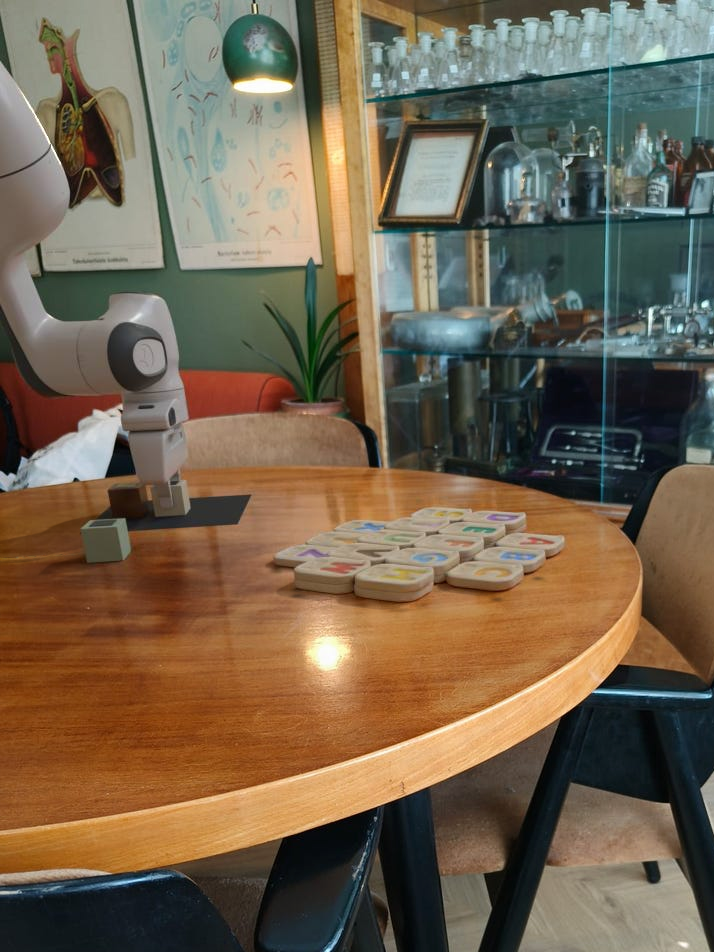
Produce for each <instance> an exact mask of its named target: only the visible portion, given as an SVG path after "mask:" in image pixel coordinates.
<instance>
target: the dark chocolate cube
mask: <svg viewBox="0 0 714 952" xmlns="http://www.w3.org/2000/svg"><path fill="white" fill-rule="evenodd" d="M147 491H148V490H147V485H142V484H141V482H140V481H139V482H123V483H121V482H120V483H114V484H113V485H111V486H110V487H109V488H108V489H107V495H108V501H109V505H110V506H111V511H112V517H113V519H121V518H125V519H128V518H144V517H145V516H146V514H147V513H148V512H149V511H150V508H149V502H148V500H149V497H148V492H147ZM110 506H109V507H110Z"/></svg>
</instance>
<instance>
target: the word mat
mask: <svg viewBox="0 0 714 952" xmlns="http://www.w3.org/2000/svg"><path fill="white" fill-rule="evenodd" d="M252 495H253V494H234V495H219V496H201V497H200V496H199V497H189V501H190V507H191V508H190V510H189V511H188V512H187V514H186V515H177V516H161V517H155V512H154V507H153V501H152V499H148V502H149V508H150V511H149V512H148V513H147V514H146V516H145V517H144V518H128V519H126V525H127V530H128V532H136V531H137V532H139V531H154V530H171V529H186V528H187V529H189V528H201V527H204V528H205V527H217V526H234V525H235V526H236V525H239V522H240V521H241V518H242V516H243V514H244V512H245V510H246V508H247V506H248V503H249V502H250V499H251V498H252ZM104 519H113V517H112V511H111V506H109V507H107V508H106V509H105V510H104V511H103V512H102V513H100V515H99V516H98V517H96V518H95V519H94V520H104ZM79 535H81V532H80V533H79Z"/></svg>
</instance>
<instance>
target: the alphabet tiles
mask: <svg viewBox="0 0 714 952" xmlns="http://www.w3.org/2000/svg"><path fill="white" fill-rule="evenodd" d="M526 530H527V514H526V513H525V512H524V511H521V512H512V511H511V512H510V511H500V510H499V511H497V510H477V511H473V509H472V508H453V507H438V506H437V507H436V506H433V507H432V506H431V507H425V508H424V507H423V508H421V509H419V510H417V511H415V512H412V513H410V514H409V516H408V517H406V516H405V517H400V518H397V519H394V520H392V521H383V520H370V519H353V520H349V521H347V522H343V523H342V524H340V525H337V526H336V527H333V531H326V532H322V533H319V534H317V535H315V536H313V537H310V538H308V539H306V541H305V544H297V545H292V546H289V547H288V548H285V549H282V550H280V551H278V552H276V553H274V555H272V556H273V563H274V564H275V565H276V566H281V567H286V568H293V576H294V578H293V582H294V583H293V584H294V586H295V588H297V589H300V590H306V591H312V592H318V593H319V592H320V593H326V594H334V595H339V594H348V593H352V592H354V595H355V596H357V597H359V598H365V599H372V600H380V601H387V602H397V603H406V602H414V601H416V600H419V599H420V598H422V597H423V596H425V595H426V594H429V593H430V592H431V591H432V590H433V589H434V586H435V585H434V584H439V583H442V582H445V581H446V583H447V584H448V585H450V586H454V587H459V588H468V589H475V590H484V591H492V592H493V591H496V592H497V591H505V590H508V589H512V588H513V587H515V586H516V585H517V584H519V583H520V582H521V581H523V579H524V576H525V575H524V574H527V573H531V572H535V571H536V570H538V569H539V568H540V567H542V566H543V565H544V564H545V563H546V558H548V557H553V556H555V555H558V553H560V552H561V551H563V549H564V548H565V545H566V544H565V543H566V542H565V539H566V538H565V536H563V535H562V534H559V535H551V534H540V533H539V534H537V533H526V532H525V531H526Z"/></svg>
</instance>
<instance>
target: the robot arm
mask: <svg viewBox="0 0 714 952" xmlns="http://www.w3.org/2000/svg"><path fill="white" fill-rule="evenodd" d="M46 133H47V132H46V131H45V129H44V127H43V125H42V123H41V122H40V119H39V118H38V116H37V115H36V113H35V111H34V109H33V107H32V106H31V104H30V103H29V101H28V99H27V98H26V96H25V95H24V93H23V91H22V90H21V89H20V87H19V85H18V84H17V82H16V81H15V79H14V77H12V75H11V74H10V72H9V71H8V69H7V68H6V67H5V65H4V64H3V62H2V61H1V60H0V322H1V325H2V328H3V329H4V332H5V334H6V337H7V339H8V341H9V344H10V348H11V353H12V357H13V360H14V364H15V367H16V370H17V372H18V374H19V375H20V377H21V379H22V380H23V381H24V383H26V385H27V386H28V387H29V388H30V389H32V390H33V391H34V393H36V394H38V395H39V396H41V397H42V398H43V397H44V398H45V399H50V400H51V399H53V400H54V399H61V398H71V397H76V396H109V395H121V396H120V397H121V401H122V413H121V415H120V423H121V424H120V425H121V428H122V429H121V430H122V431H123V432H127V437H128V439H127V440H128V445H129V450H130V453H131V457H132V462H133V465H134V469H135V473H136V476H137V479H138V481H139V482H141V484H142V485H146V486H152V485H154V488H155V490H156V492H157V495H158V497H159V502H160V506H161V507H162V508H171V507H172V506H173V504H174V500H173V494H172V493H171V488H170V481H173V480H181V468H182V467H183V466H184V465H185V464H186V462H188V460H189V450H188V449H189V448H188V444H187V439H186V434H185V429H184V423H183V422H187V421H189V420H190V417H189V410H188V405H187V398H186V391H185V386H184V385H185V384H184V382H183V380H182V377H181V375H180V370H179V364H180V363H179V362H180V352H179V346H178V345H179V344H178V340H177V335H176V331H175V326H174V322H173V319H172V316H171V313H170V310H169V307H168V304H167V303H166V301H165V299H163V298H162V297H160V296H159V295H156V294H154V293H150V292H143V291H142V292H140V291H119V292H115V293H112V294H110V296H109V299H108V309H107V311H106V312H105V313H104V314H102V315H101V316H99V317H98V318H97V319H94V320H93V319H92V320H79V321H78V320H77V321H64V320H59V319H57V318H55V317H53V316H52V315H50V314H49V313H47V310H46V309H45V307H44V305H43V302H42V300H41V297H40V295H39V293H38V290H37V288H36V285H35V282H34V280H33V278H32V276H31V274H30V270H29V268H28V266H27V262H26V257H25V255H26V254H25V252H27V251H29V250H30V249H32V248H34V247H35V246H37V245H38V244H40V243H42V242H43V241H44V240H45V239H47V238H48V237H49V236H50V235H51V234H52V233H54V232H55V231H56V229H57V228H58V227H59V226H60V225H61V223H62V222H63V220H64V219H65V216H66V215H67V213H68V210H69V206H70V200H71V199H70V198H71V191H70V186H69V185H70V184H69V181H68V178H67V175H66V172H65V170H64V167H63V165H62V163H61V161H60V159H59V157H58V155H57V153H56V151H55V149H54V147H53V144H52V143H51V141H50V139H49V137H48V135H47V134H46Z"/></svg>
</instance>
